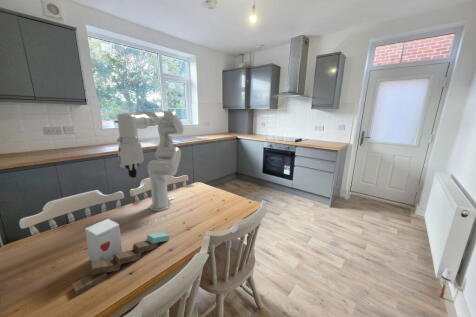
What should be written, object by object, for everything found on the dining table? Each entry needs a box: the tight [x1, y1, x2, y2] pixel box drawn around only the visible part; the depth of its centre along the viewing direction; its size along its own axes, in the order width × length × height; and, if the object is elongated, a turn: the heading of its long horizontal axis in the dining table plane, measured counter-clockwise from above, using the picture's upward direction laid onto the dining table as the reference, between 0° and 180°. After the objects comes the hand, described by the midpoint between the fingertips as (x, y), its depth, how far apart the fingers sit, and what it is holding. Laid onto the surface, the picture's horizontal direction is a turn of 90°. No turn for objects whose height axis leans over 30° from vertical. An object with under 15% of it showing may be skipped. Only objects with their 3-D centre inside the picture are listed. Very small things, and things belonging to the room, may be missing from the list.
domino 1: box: [72, 272, 108, 296], centre depth 69 cm, size 2×4×9 cm
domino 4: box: [132, 239, 159, 253], centre depth 85 cm, size 2×4×9 cm
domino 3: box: [113, 249, 143, 265], centre depth 78 cm, size 2×4×9 cm
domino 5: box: [146, 232, 170, 243], centre depth 90 cm, size 2×4×9 cm
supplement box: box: [84, 218, 123, 262], centre depth 79 cm, size 9×9×15 cm
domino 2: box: [89, 259, 122, 275], centre depth 73 cm, size 2×4×9 cm
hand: (133, 176), depth 95 cm, fingers closed
